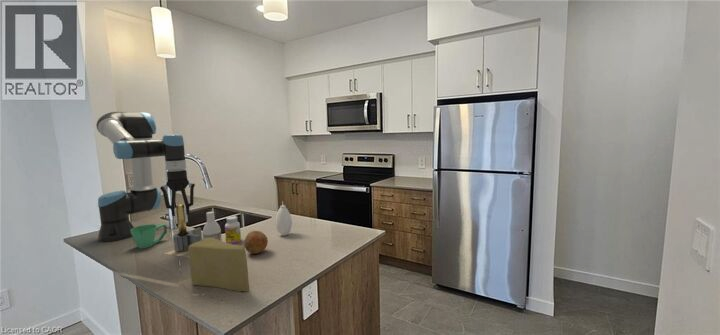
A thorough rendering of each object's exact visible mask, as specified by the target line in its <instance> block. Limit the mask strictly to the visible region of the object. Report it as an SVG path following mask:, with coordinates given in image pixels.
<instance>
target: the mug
mask: <svg viewBox="0 0 720 335" xmlns="http://www.w3.org/2000/svg"><path fill="white" fill-rule="evenodd" d="M133 227H134V226H133ZM167 227H168V226H167V225H166V224H165V223H160V224H157V225H156V224H142V225H138V226H135V227H134V228H132V229H131V230H130V231H131V234H132V236H131V237H132V239H133V241H134V243H135V245H136V247H137V248H138V249H146V248H150V247H152V246H153V245H157V243H159V242H160V241H162V240H163V238H164V237H165V235H166V234H167V233H168V232H167V231H168V228H167ZM160 228H163V231H162V232H161V234H160V236H159V237H158V238H157V239H156V232H157V230H158V229H160Z"/></svg>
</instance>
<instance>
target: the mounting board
mask: <svg viewBox="0 0 720 335" xmlns="http://www.w3.org/2000/svg"><path fill="white" fill-rule="evenodd" d="M162 254H164V255H170V256H178V257H185V258H189V251H186V252H175V248H172V249H169V250H167V251H166V250H165V252H162Z"/></svg>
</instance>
